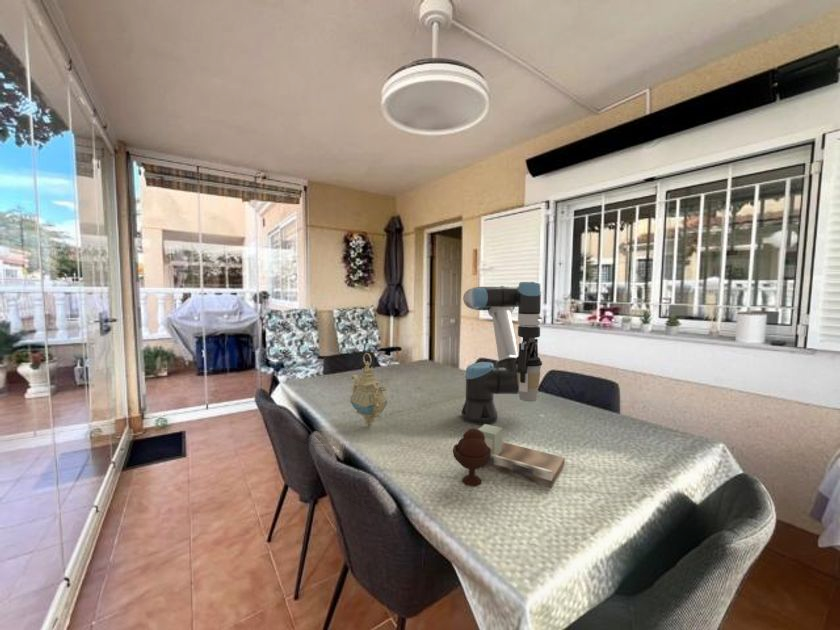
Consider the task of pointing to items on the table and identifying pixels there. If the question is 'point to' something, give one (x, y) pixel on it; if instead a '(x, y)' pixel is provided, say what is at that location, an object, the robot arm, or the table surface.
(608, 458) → the table surface
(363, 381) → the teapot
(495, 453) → the pale green box
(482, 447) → the ice cream bowl
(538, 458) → the shelf board
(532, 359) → the coffee cup
